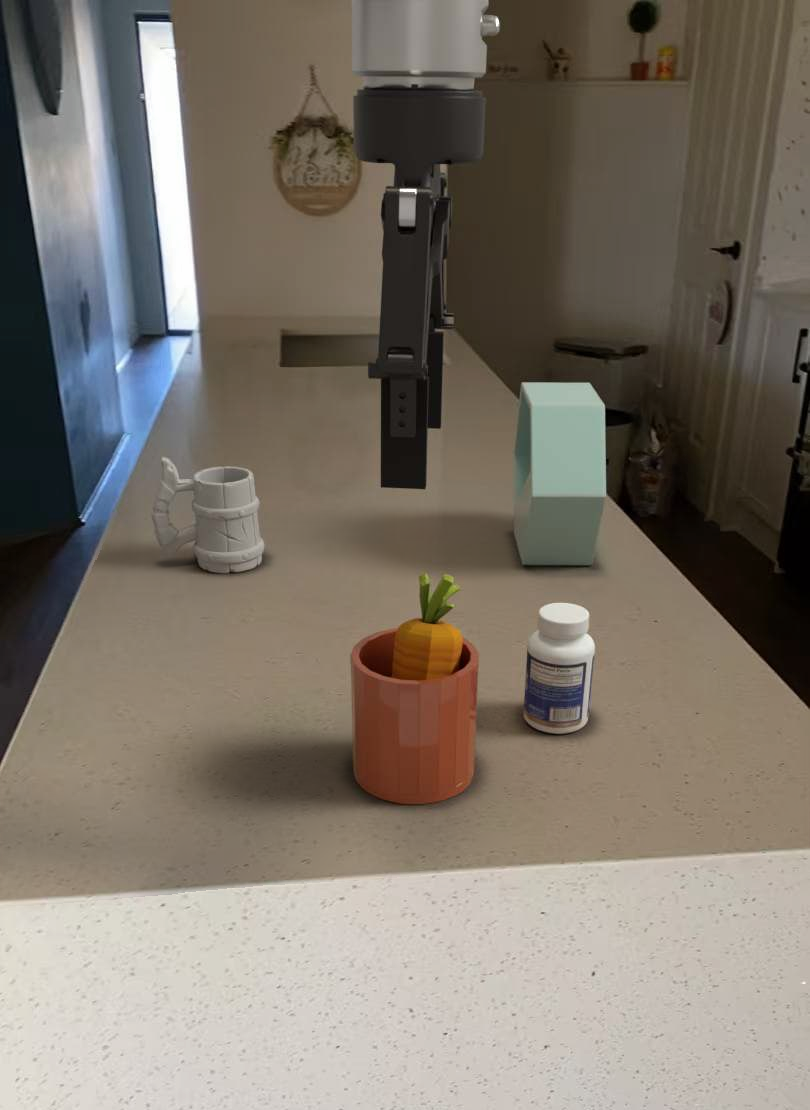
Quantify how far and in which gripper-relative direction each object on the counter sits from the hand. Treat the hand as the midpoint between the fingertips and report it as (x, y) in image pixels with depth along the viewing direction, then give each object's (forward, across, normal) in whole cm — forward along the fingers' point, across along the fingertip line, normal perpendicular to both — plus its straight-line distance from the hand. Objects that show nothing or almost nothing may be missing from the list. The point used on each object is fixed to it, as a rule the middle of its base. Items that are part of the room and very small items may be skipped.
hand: (413, 454), depth 72 cm
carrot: (+24, -1, 0) cm, 24 cm away
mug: (+25, +40, +26) cm, 54 cm away
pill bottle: (+25, +9, -11) cm, 29 cm away
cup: (+25, 0, 0) cm, 25 cm away
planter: (+25, +48, -12) cm, 56 cm away
